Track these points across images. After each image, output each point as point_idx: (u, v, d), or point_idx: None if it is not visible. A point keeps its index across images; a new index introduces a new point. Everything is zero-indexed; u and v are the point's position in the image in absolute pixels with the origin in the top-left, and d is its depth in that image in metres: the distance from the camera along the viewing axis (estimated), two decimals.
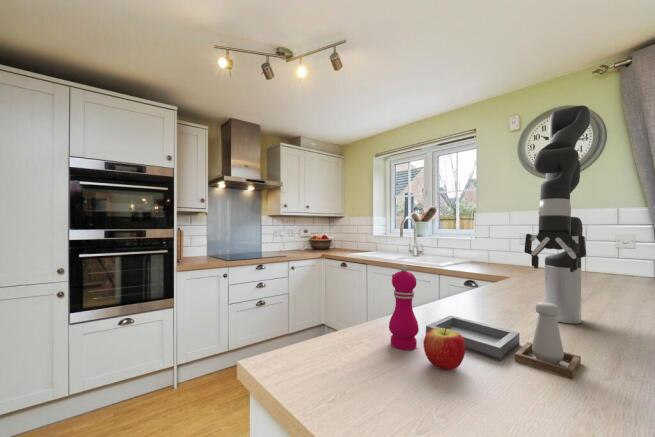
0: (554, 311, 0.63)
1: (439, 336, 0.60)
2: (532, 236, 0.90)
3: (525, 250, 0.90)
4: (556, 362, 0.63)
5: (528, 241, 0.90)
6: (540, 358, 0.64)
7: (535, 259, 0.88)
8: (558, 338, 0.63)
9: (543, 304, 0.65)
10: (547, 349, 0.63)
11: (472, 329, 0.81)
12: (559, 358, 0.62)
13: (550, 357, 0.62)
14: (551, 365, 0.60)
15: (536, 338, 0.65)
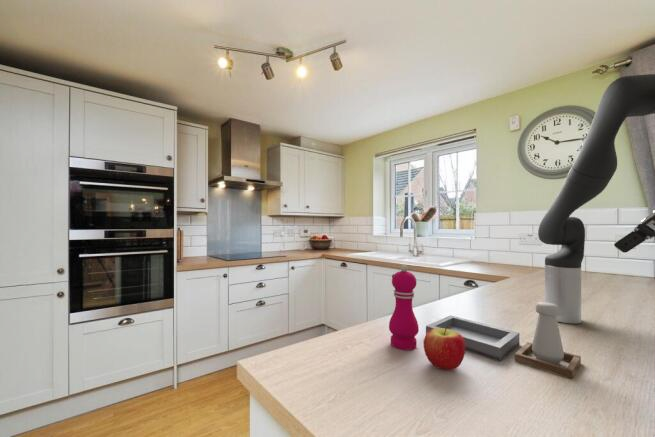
0: (554, 311, 0.63)
1: (439, 336, 0.60)
2: None
3: None
4: (556, 362, 0.63)
5: None
6: (540, 358, 0.64)
7: None
8: (558, 338, 0.63)
9: (543, 304, 0.65)
10: (547, 349, 0.63)
11: (472, 329, 0.81)
12: (559, 358, 0.62)
13: (550, 357, 0.62)
14: (551, 365, 0.60)
15: (536, 338, 0.65)
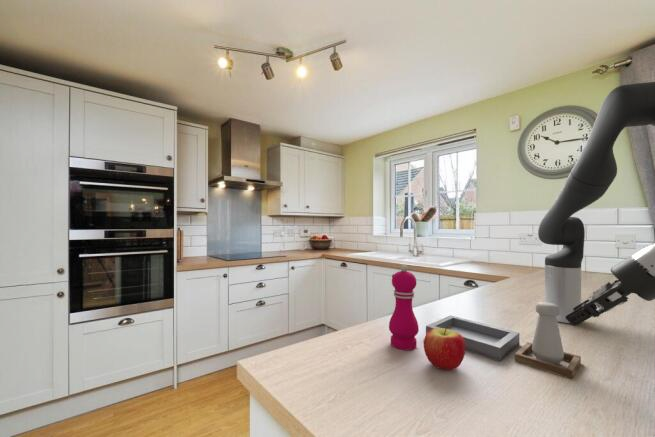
0: (554, 311, 0.63)
1: (439, 336, 0.60)
2: None
3: (598, 315, 0.54)
4: (556, 362, 0.63)
5: (613, 306, 0.53)
6: (540, 358, 0.64)
7: None
8: (558, 338, 0.63)
9: (543, 304, 0.65)
10: (547, 349, 0.63)
11: (472, 329, 0.81)
12: (559, 358, 0.62)
13: (550, 357, 0.62)
14: (551, 365, 0.60)
15: (536, 338, 0.65)
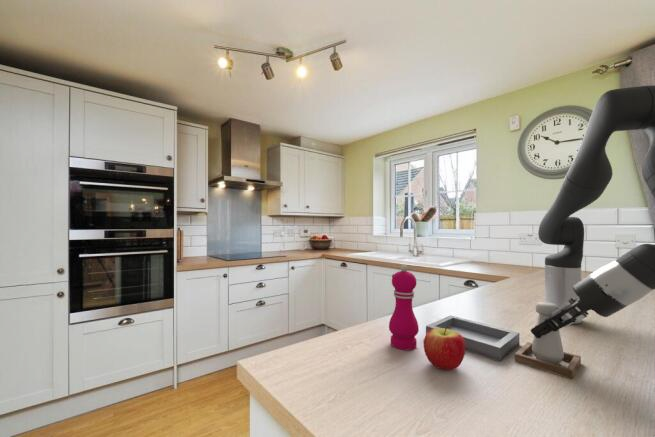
0: None
1: (439, 336, 0.60)
2: None
3: (556, 330, 0.60)
4: (556, 362, 0.63)
5: (567, 324, 0.59)
6: (540, 358, 0.64)
7: (548, 332, 0.63)
8: (558, 338, 0.63)
9: (543, 304, 0.65)
10: (547, 349, 0.63)
11: (472, 329, 0.81)
12: (559, 358, 0.62)
13: (550, 357, 0.62)
14: (551, 365, 0.60)
15: (536, 338, 0.65)
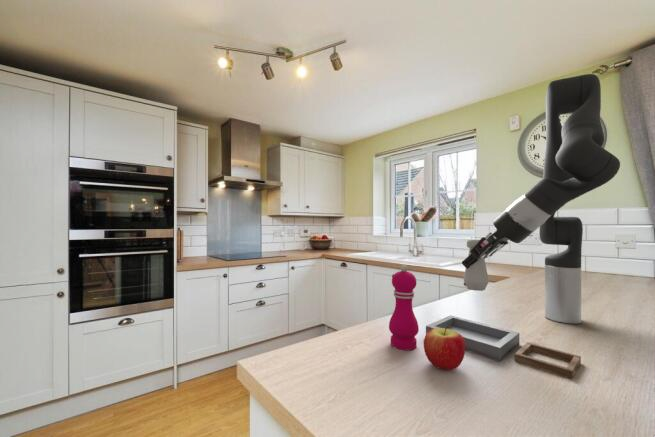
0: None
1: (439, 336, 0.60)
2: None
3: (479, 257, 0.71)
4: (481, 287, 0.73)
5: (486, 250, 0.69)
6: (469, 285, 0.75)
7: None
8: (483, 267, 0.74)
9: (472, 239, 0.75)
10: (473, 276, 0.74)
11: (472, 329, 0.81)
12: (483, 283, 0.73)
13: (476, 283, 0.73)
14: (551, 365, 0.60)
15: (466, 269, 0.76)
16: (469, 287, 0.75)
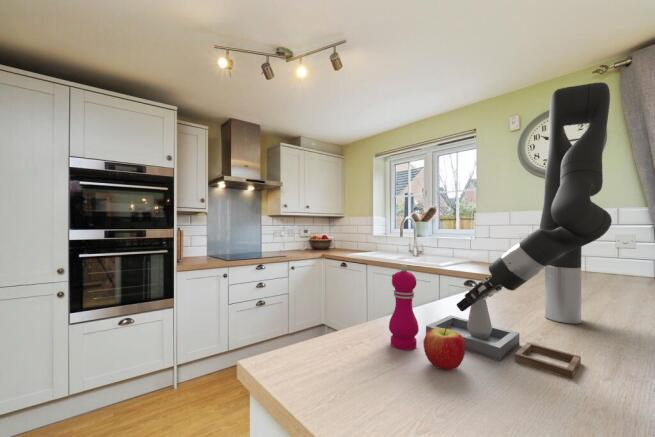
0: None
1: (439, 336, 0.60)
2: None
3: (473, 302, 0.70)
4: (485, 336, 0.74)
5: (482, 295, 0.69)
6: (472, 334, 0.76)
7: None
8: (486, 316, 0.74)
9: None
10: (477, 326, 0.74)
11: None
12: (487, 333, 0.74)
13: (480, 333, 0.74)
14: (551, 365, 0.60)
15: (469, 317, 0.76)
16: (473, 336, 0.76)
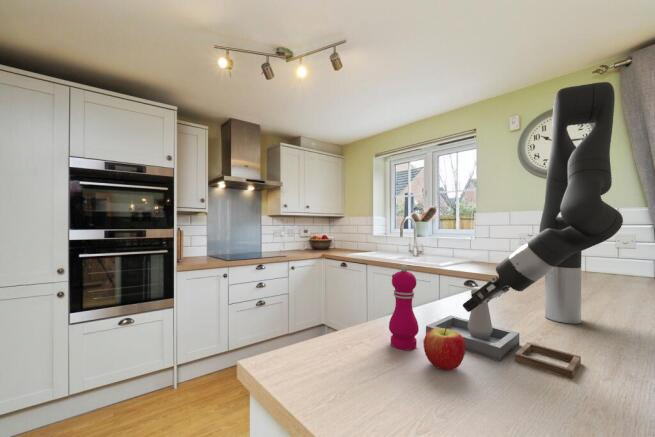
0: None
1: (439, 336, 0.60)
2: None
3: (480, 303, 0.68)
4: (485, 336, 0.74)
5: (490, 295, 0.67)
6: (473, 333, 0.76)
7: (476, 306, 0.71)
8: (487, 316, 0.75)
9: (476, 288, 0.76)
10: (477, 325, 0.74)
11: None
12: (487, 333, 0.74)
13: (480, 332, 0.74)
14: (551, 365, 0.60)
15: (470, 317, 0.77)
16: (473, 336, 0.76)
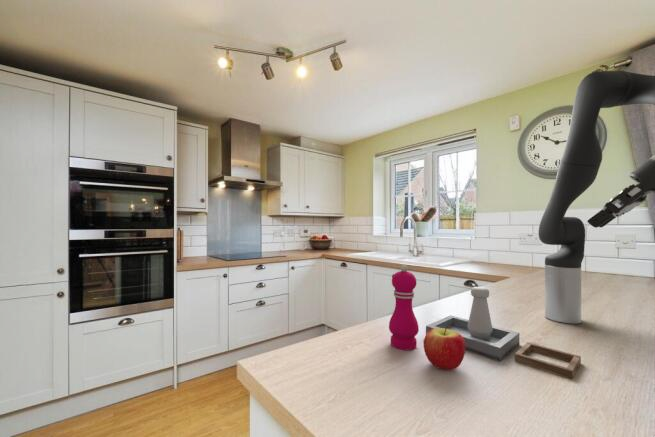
0: (484, 293, 0.75)
1: (439, 336, 0.60)
2: None
3: (619, 211, 0.59)
4: (485, 336, 0.74)
5: (633, 201, 0.58)
6: (473, 334, 0.76)
7: (608, 219, 0.62)
8: (487, 316, 0.75)
9: (476, 288, 0.76)
10: (477, 325, 0.75)
11: None
12: (487, 333, 0.74)
13: (480, 332, 0.74)
14: (551, 365, 0.60)
15: (470, 317, 0.77)
16: (473, 336, 0.76)
